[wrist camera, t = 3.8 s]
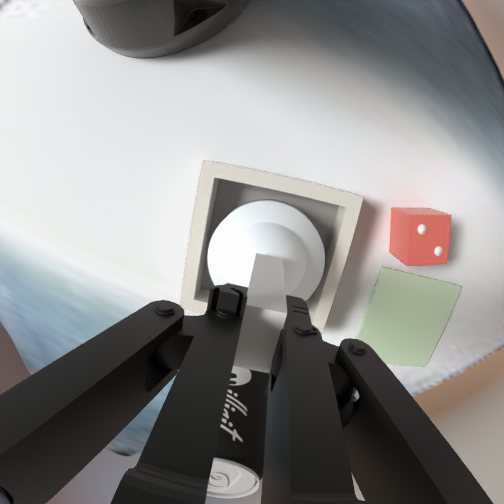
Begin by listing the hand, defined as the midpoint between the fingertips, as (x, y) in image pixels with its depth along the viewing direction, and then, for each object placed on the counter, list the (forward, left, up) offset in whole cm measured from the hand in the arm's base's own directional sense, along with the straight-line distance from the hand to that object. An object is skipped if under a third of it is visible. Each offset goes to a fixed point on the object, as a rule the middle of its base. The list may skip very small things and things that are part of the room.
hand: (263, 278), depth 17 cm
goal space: (+4, +14, -7) cm, 16 cm away
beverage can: (+13, 0, -7) cm, 14 cm away
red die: (-4, +11, -7) cm, 13 cm away
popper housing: (0, 0, -7) cm, 7 cm away
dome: (0, 0, -5) cm, 5 cm away
